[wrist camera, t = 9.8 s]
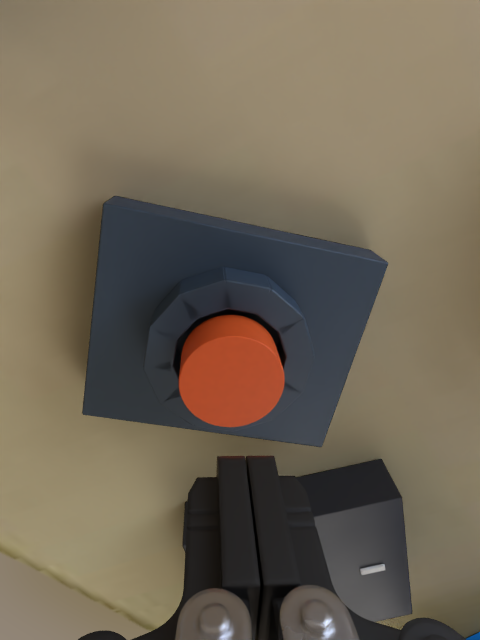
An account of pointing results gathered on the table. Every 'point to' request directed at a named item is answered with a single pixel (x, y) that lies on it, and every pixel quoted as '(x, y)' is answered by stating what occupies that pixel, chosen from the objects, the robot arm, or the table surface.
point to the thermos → (474, 637)
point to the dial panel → (360, 537)
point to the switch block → (222, 299)
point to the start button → (230, 371)
